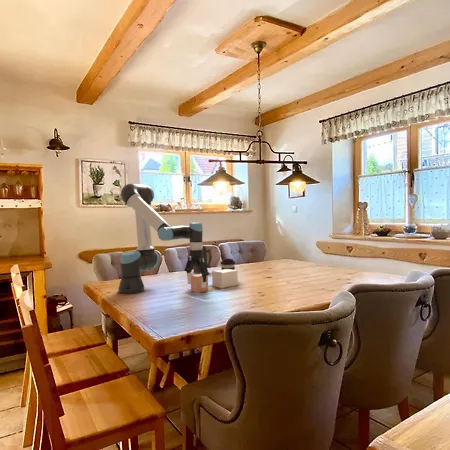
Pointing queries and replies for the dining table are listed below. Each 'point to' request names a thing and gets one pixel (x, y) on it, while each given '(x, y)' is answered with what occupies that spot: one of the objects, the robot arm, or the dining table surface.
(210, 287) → the board
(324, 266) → the dining table surface
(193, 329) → the dining table surface
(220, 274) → the cream white block
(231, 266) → the coffee cup
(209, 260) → the beer stein
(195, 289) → the stub
